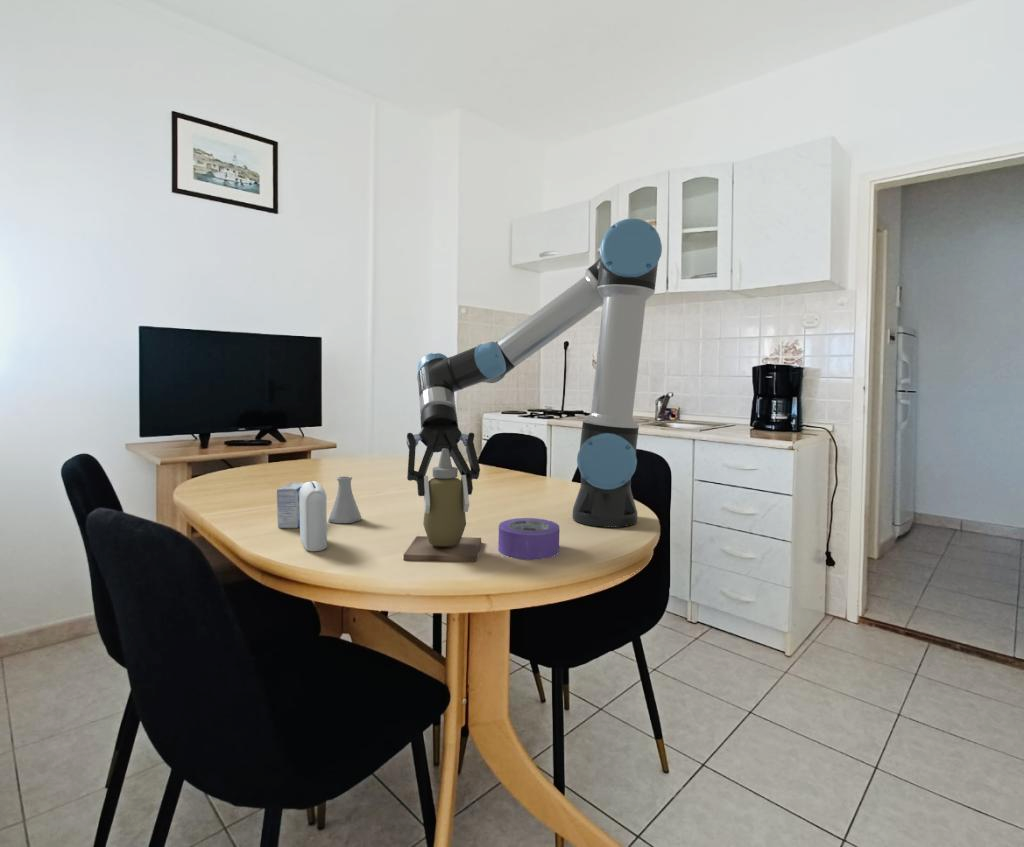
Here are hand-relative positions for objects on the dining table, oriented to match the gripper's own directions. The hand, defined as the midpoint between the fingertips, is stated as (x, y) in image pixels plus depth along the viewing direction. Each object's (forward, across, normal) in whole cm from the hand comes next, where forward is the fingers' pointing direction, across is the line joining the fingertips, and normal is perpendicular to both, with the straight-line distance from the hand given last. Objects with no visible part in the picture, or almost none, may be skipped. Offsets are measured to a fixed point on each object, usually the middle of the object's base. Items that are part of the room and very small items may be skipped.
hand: (447, 508), depth 102 cm
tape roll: (+6, -16, -8) cm, 19 cm away
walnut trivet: (+4, 0, -9) cm, 10 cm away
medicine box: (-14, +30, -27) cm, 43 cm away
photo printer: (-2, +25, -15) cm, 29 cm away
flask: (-15, +20, -28) cm, 38 cm away
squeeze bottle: (+3, 0, -8) cm, 8 cm away
